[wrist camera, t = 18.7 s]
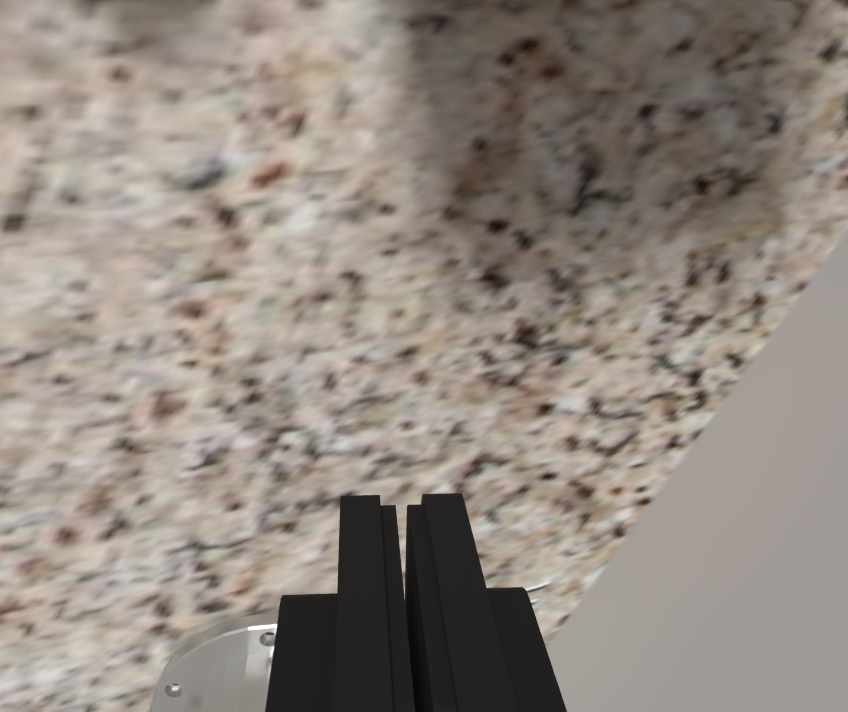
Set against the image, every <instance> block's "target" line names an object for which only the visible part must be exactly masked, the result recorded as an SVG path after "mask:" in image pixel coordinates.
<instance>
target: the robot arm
mask: <svg viewBox="0 0 848 712" xmlns="http://www.w3.org/2000/svg"><path fill="white" fill-rule="evenodd" d="M150 712H567V711H566V708H565V704H564V701H563V699H562V695H561V692H560V689H559V686H558V683H557V680H556V677H555V674H554V672H553V668H552V665H551V662H550V659H549V656H548V653H547V650H546V647H545V644H544V641H543V638H542V635H541V632H540V629H539V626H538V623H537V620H536V617H535V614H534V611H533V608H532V605H531V602H530V599H529V596H528V594H527V592H526V590H525V589H524V588H523V587H515V588H486V585H485V581H484V577H483V573H482V569H481V565H480V561H479V557H478V553H477V549H476V545H475V541H474V538H473V534H472V530H471V526H470V522H469V518H468V514H467V510H466V506H465V502H464V498H463V495H462V494H461V493H451V494H423V495H422V501H421V505H408V506H407V528H406V575H405V600H404V589H403V579H402V568H401V558H400V547H399V536H398V526H397V515H396V506H395V505H384V506H380V495H361V496H341V500H340V531H339V562H338V593H336V594H306V595H282V598H281V602H280V607H279V613H262V614H256V615H251V616H245V617H239V618H236V619H233V620H230V621H227V622H225V623H222V624H219V625H216V626H214V627H212V628H210V629H208V630H207V631H205V632H203V633H201V634H199V635H197V636H196V637H194V638H193V639H192V640H190V641H189V642H188V643H187V644H186V645H184V646H183V647H182V648H181V649H180V650H178V651H177V653H176V654H175V655H174V656H173V658H172V659H171V660H170V661H169V663H168V664H167V665H166V666H165V668H164V670H163V672H162V675H161V677H160V679H159V681H158V683H157V686H156V689H155V693H154V697H153V700H152V703H151V709H150Z"/></svg>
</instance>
